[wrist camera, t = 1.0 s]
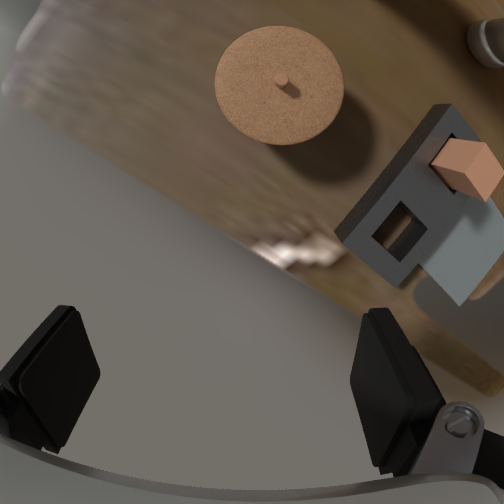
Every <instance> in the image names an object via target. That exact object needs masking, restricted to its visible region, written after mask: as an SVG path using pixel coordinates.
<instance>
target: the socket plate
mask: <svg viewBox="0 0 504 504" xmlns="http://www.w3.org/2000/svg"><path fill="white" fill-rule="evenodd" d="M447 138H453V139H461V140H469V141H476V142H481V141H480V139H479V138H478V136H477V135H476V134H475V132H474V131H473V130H472V128H471V127H470V126H469V124H468V123H467V122H466V121H465V119H464V118H463V117H462V116H461V114H460V113H459V112H458V111H457V109H456V108H455V107H454V106H453V105H452V104H438V105H433V107H432V108H431V109H430V111H429V112H428V113H427V115H426V116H425V117H424V119H423V120H422V121H421V123H420V124H419V125H418V127H417V128H416V129H415V131H414V132H413V133H412V135H411V136H410V137H409V139H408V140H407V141H406V142H405V144H404V145H403V146H402V148H401V149H400V150H399V152H398V153H397V154H396V155H395V157H394V158H393V159H392V160H391V162H390V163H389V164H388V166H387V167H386V168H385V169H384V171H383V172H382V173H381V174H380V176H379V177H378V178H377V179H376V181H375V182H374V183H373V184H372V186H371V187H370V188H369V189H368V191H367V192H366V193H365V194H364V195H363V197H362V198H361V199H360V200H359V202H358V203H357V204H356V205H355V206H354V208H353V209H352V210H351V211H350V212H349V214H348V215H347V216H346V217H345V219H344V220H343V221H342V222H341V223H340V224H339V226H338V227H337V228H336V229H335V230H334V233H335V234H336V235H337V237H338V238H339V240H340V241H341V242H342V244H344V245H345V246H346V247H347V248H348V249H350V250H351V251H352V252H353V253H355V254H356V255H357V256H358V257H359V258H361V259H362V260H363V261H364V262H365V263H367V264H368V265H369V266H370V267H371V268H372V269H374V270H375V271H376V272H377V273H378V274H380V275H381V276H382V277H383V278H384V279H385V280H387V281H388V282H389V283H390V284H391V285H392V286H393V287H395V288H397V287H398V285H399V284H400V283H401V282H402V281H403V280H404V279H405V278H406V277H407V275H408V274H409V273H410V272H411V271H412V270H413V269H414V267H415V266H416V265H417V264H418V263H419V262H420V260H421V259H422V258H423V257H424V256H425V254H426V253H427V252H428V251H429V250H430V248H431V247H432V246H433V245H434V244H435V242H436V241H437V240H438V239H439V237H440V236H441V235H442V234H443V232H444V231H445V230H446V228H447V227H448V226H449V225H450V223H451V222H452V221H453V219H454V218H455V217H456V215H457V214H458V213H459V211H460V210H461V209H462V207H463V206H464V205H465V203H466V202H467V200H468V199H469V198H470V195H467V194H465V193H462V192H459V191H457V190H454V189H452V188H449V187H447V186H446V185H445V184H444V183H443V182H442V181H441V179H440V178H439V177H438V176H437V175H436V173H435V172H434V171H433V170H432V169H431V168H430V167H429V165H428V164H429V163H430V162H431V160H432V159H433V158H434V156H435V155H436V154H437V152H438V151H439V150H440V148H441V147H442V145H443V144H444V143H445V141H446V140H447ZM397 204H399V205H400V206H401V207H402V208H403V209H404V210H405V211H406V212H407V213H408V214H409V215H410V216H411V218H412V221H411V222H410V223H409V224H408V226H407V227H406V228H405V229H404V231H403V232H402V233H401V234H400V235H399V237H398V238H397V239H396V240H395V241H394V242H393V244H392V245H391V246H390V247H389V248H388V250H387V249H386V248H385V247H384V246H383V245H381V244H380V243H379V242H378V241H377V240H376V239H375V238H374V237H373V236H372V235H373V233H374V232H375V231H376V230H377V229H378V227H379V226H380V225H381V224H382V223H383V221H384V220H385V219H386V218H387V217H388V215H389V214H390V213H391V212H392V210H393V209H394V208H395V207H396V205H397Z"/></svg>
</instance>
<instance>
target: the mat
mask: <svg viewBox="0 0 504 504" xmlns="http://www.w3.org/2000/svg"><path fill="white" fill-rule="evenodd" d="M503 251H504V218H503V216H502V215H501V213H500V211H499V210H498V208H497V207H496V205H495V203H494V202H493V200H492V199H491V197H490V196H489V198H488V199H487V200H486V202H484V201H482V200H479V199H477V198H474V197H472V196H470V198H469V199H468V200H467V202H466V203H465V205H464V206H463V207H462V209H461V210H460V211H459V213H458V214H457V215H456V217H455V218H454V219H453V221H452V222H451V223H450V225H449V226H448V227H447V228H446V230H445V231H444V232H443V234H442V235H441V236H440V237H439V239H438V240H437V241H436V242H435V244H434V245H433V246H432V247H431V248H430V250H429V251H428V252H427V253H426V254H425V256H424V257H423V258H422V259H421V260H420V262H419V264H420V265H421V266H422V267H423V269H424V270H425V271H426V272H427V273H428V274H429V275H430V276H431V277H432V278H433V279H434V280H435V281H436V282H437V283H438V284H439V285H440V286H441V287H442V288H443V289H444V290H445V291H446V293H447V294H448V295H449V296H450V297H451V298H452V299H453V300H454V301H455V302H456V303H457V305H458V306H460V305H461V304H462V303H463V302H464V301H465V300H466V298H467V297H468V296H469V295H470V294H471V293H472V291H473V290H474V289H475V288H476V287H477V285H478V284H479V283H480V282H481V280H482V279H483V278H484V277H485V275H486V274H487V273H488V271H489V270H490V269H491V268H492V266H493V265H494V264H495V262H496V261H497V260H498V258H499V257H500V255H501V254H502V253H503Z"/></svg>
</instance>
